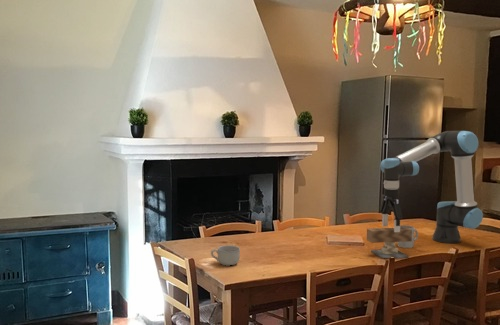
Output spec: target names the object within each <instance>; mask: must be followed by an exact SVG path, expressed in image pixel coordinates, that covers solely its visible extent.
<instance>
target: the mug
mask: <svg viewBox="0 0 500 325" xmlns="http://www.w3.org/2000/svg"><path fill="white" fill-rule="evenodd" d="M405 227H406V228H409V229H411V230H412V241H409V242H397V247H399V248H403V249H411V248H412V247H413V248H414V246H415V245H414V243H415V241H417V240H418V237H419V233H418V232H419V231H418V230H417V229H416V228H415V227H414V226H412V225H406V224H405V225H404V224H402V225H401V224H400V228H405ZM414 236H415V237H414Z"/></svg>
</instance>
